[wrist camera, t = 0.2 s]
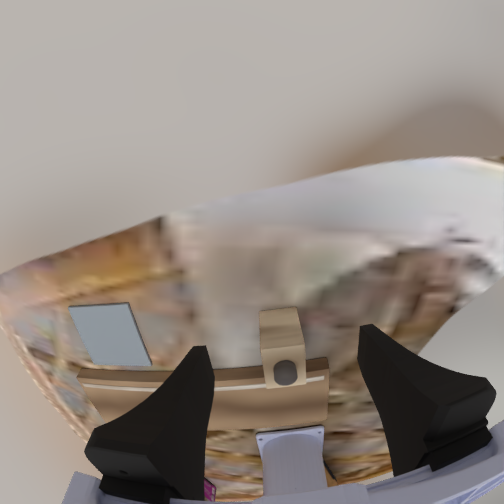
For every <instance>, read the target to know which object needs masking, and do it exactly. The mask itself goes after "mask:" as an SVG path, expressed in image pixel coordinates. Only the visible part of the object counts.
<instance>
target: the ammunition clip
mask: <svg viewBox="0 0 504 504" xmlns="http://www.w3.org/2000/svg"><path fill="white" fill-rule="evenodd" d="M323 463H324V469H325V475H326V480H327V486H328V487H333V486H338V483H337V481H336V478H335V477H334V475H333V473H332V472H331V470H330V469H329V467H328V466H327V464H326V463H325V461H324V459H323Z"/></svg>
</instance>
